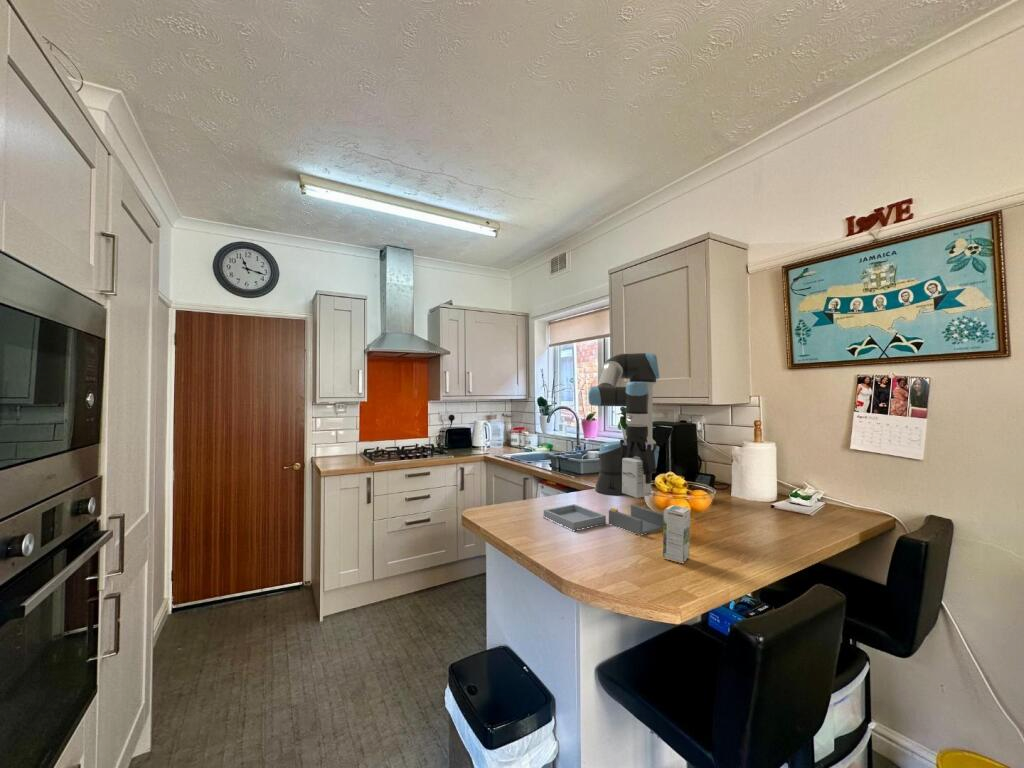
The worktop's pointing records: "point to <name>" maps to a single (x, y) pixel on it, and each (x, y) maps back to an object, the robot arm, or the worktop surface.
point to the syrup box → (676, 533)
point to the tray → (575, 516)
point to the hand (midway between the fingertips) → (636, 489)
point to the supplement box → (633, 477)
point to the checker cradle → (637, 520)
